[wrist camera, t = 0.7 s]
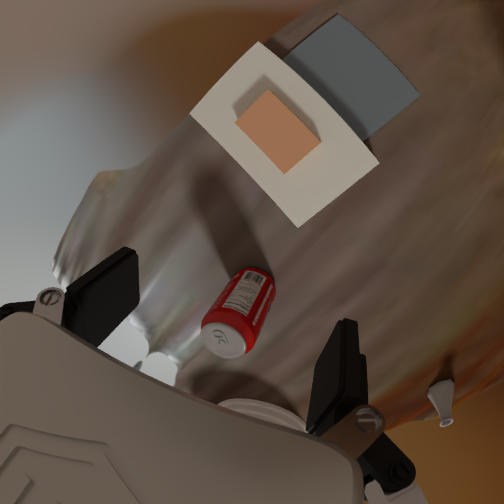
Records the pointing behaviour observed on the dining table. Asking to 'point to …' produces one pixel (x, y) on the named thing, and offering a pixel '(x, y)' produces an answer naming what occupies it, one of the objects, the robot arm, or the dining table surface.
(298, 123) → the tile
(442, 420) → the flask
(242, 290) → the soda can
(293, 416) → the plate stack
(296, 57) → the mat
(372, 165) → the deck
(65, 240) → the dining table surface
